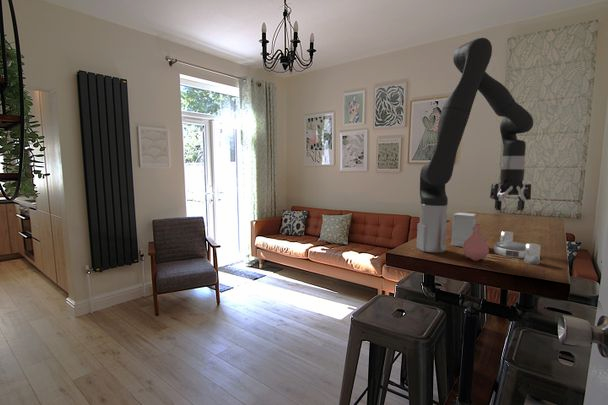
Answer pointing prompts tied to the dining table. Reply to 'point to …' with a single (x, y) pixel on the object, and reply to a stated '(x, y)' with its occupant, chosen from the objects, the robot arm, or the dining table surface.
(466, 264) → the dining table surface
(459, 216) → the supplement box
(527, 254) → the steel spacer
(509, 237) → the steel spacer
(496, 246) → the scale
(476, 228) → the pink rounded bulb
